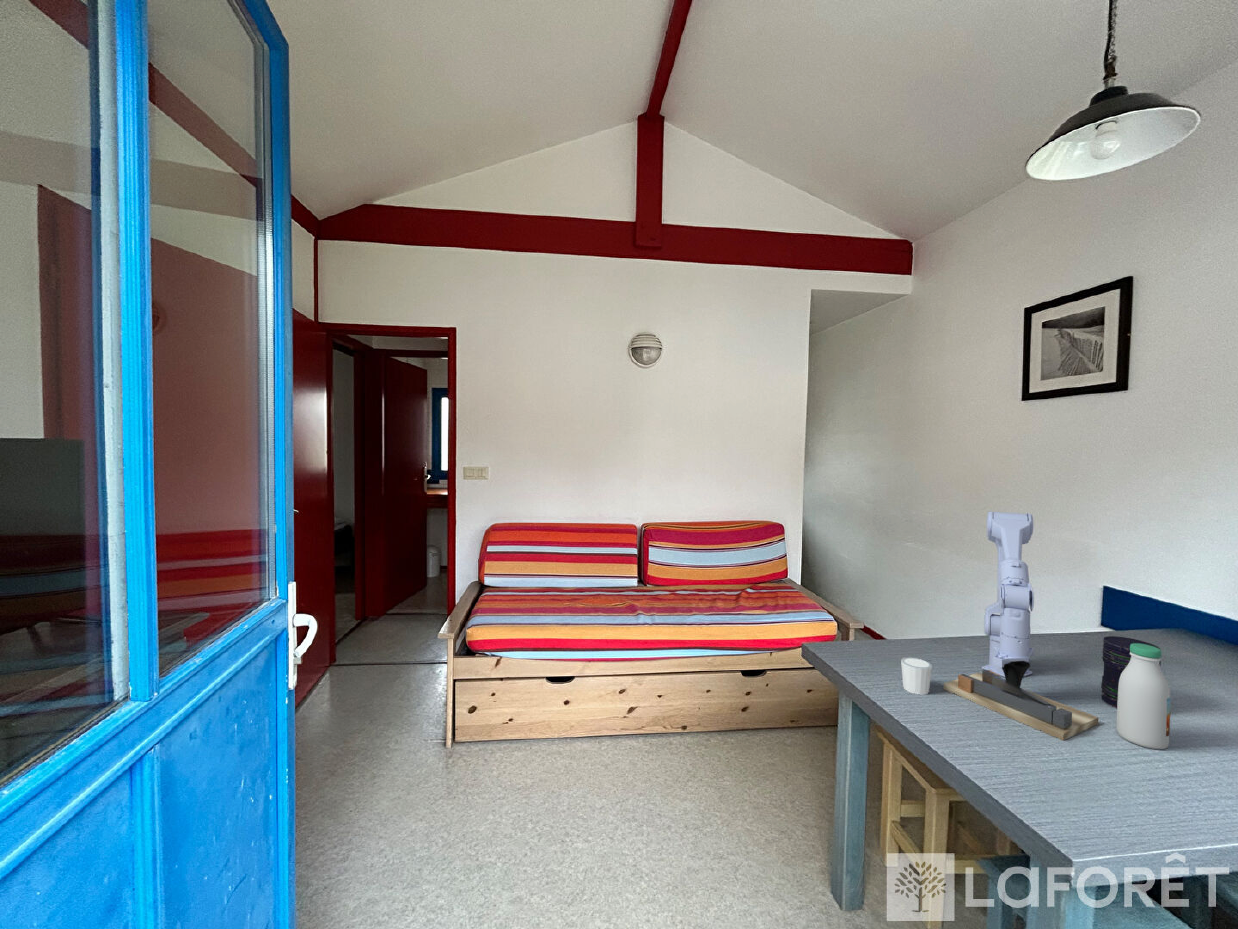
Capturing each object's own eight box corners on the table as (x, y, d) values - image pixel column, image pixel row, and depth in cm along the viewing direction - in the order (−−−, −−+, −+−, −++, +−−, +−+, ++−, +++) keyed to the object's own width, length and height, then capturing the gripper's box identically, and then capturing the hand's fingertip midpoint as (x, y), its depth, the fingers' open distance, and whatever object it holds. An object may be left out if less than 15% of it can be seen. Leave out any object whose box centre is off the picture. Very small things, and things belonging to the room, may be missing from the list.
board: (978, 678, 136) (978, 672, 136) (1098, 724, 113) (1098, 717, 113) (943, 689, 129) (943, 683, 129) (1063, 740, 107) (1063, 733, 107)
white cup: (936, 697, 125) (936, 669, 125) (905, 694, 127) (906, 667, 126) (925, 684, 132) (925, 658, 132) (896, 682, 133) (897, 656, 133)
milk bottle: (1160, 754, 102) (1164, 657, 101) (1109, 735, 109) (1113, 643, 108) (1175, 744, 106) (1178, 650, 105) (1125, 726, 112) (1128, 637, 112)
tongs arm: (989, 681, 130) (989, 670, 130) (1060, 721, 111) (1060, 707, 111) (981, 681, 130) (981, 670, 130) (1050, 721, 111) (1051, 708, 111)
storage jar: (1101, 691, 129) (1103, 633, 128) (1158, 705, 122) (1160, 643, 121) (1099, 705, 122) (1101, 643, 121) (1159, 720, 115) (1162, 655, 114)
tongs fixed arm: (967, 684, 129) (967, 672, 129) (1071, 726, 109) (1072, 712, 109) (957, 687, 127) (958, 675, 127) (1061, 730, 108) (1062, 716, 108)
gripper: (1011, 624, 130) (1010, 676, 130) (979, 634, 123) (978, 689, 124) (1044, 633, 123) (1043, 688, 124) (1012, 644, 117) (1011, 702, 117)
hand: (1012, 689), depth 123 cm, fingers closed
